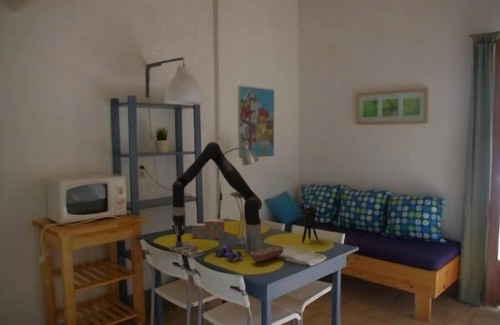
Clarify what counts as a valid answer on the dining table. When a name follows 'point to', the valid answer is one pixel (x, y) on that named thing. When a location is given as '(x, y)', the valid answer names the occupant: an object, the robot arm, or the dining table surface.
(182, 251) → the button board
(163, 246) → the dining table surface
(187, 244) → the button
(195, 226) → the stack of blocks
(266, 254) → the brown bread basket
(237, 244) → the dining table surface
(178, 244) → the button
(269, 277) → the dining table surface
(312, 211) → the black legged piece
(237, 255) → the toy race car
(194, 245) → the button
